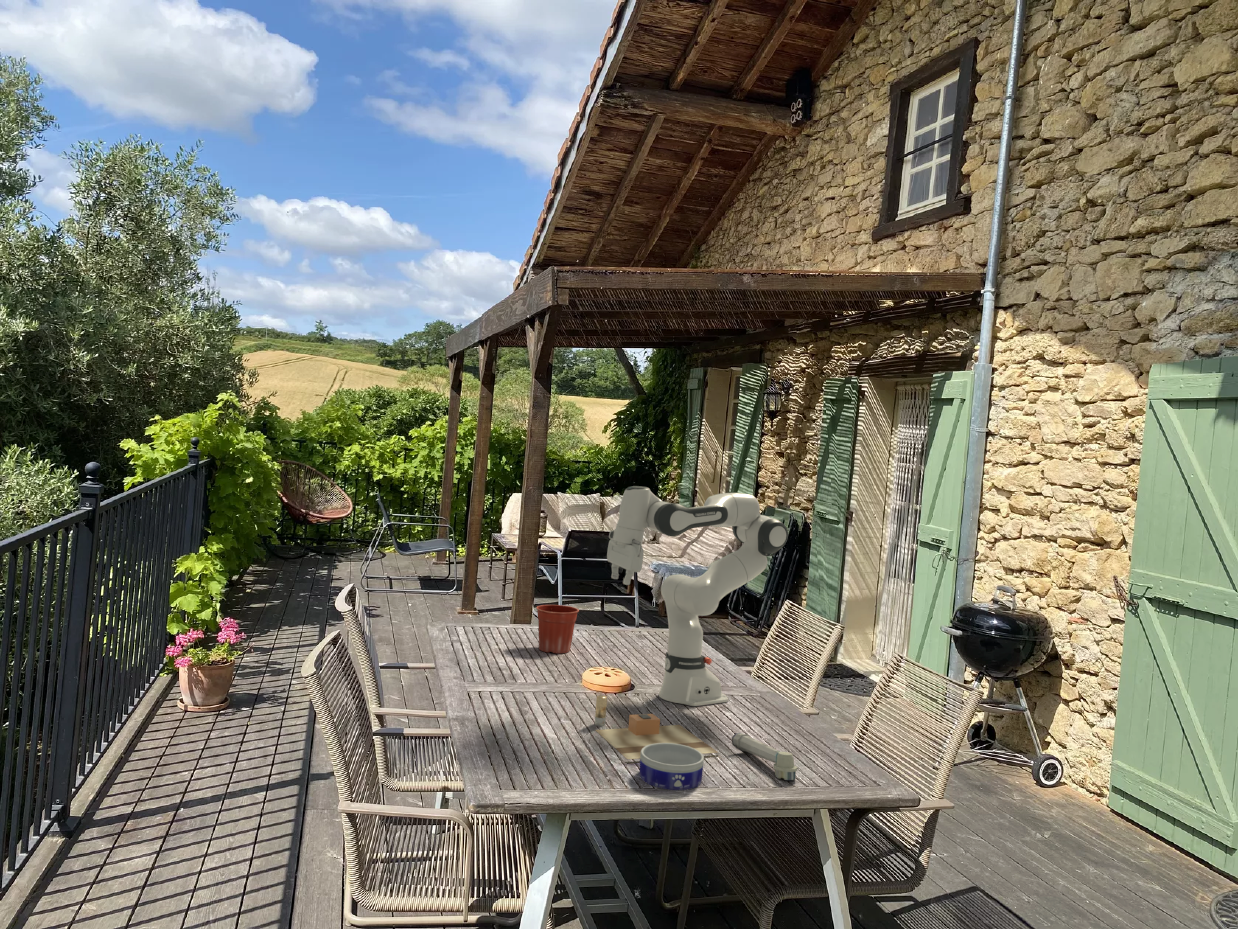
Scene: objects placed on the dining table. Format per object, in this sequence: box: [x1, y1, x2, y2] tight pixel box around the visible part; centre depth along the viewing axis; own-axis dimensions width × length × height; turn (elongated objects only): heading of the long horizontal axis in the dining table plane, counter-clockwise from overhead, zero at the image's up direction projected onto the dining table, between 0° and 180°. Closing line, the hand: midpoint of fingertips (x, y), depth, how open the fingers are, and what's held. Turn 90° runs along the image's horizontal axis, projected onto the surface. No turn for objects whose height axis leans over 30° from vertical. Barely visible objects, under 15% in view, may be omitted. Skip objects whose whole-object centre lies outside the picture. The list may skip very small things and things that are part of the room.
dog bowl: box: [639, 743, 705, 791], centre depth 201 cm, size 15×15×6 cm
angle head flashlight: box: [731, 732, 798, 781], centre depth 216 cm, size 5×7×25 cm
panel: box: [595, 724, 719, 765], centre depth 223 cm, size 26×22×1 cm
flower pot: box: [535, 604, 580, 654], centre depth 321 cm, size 16×16×16 cm
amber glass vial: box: [594, 694, 608, 728], centre depth 233 cm, size 3×3×9 cm
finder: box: [627, 713, 661, 735], centre depth 230 cm, size 7×5×4 cm
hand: (620, 581), depth 257 cm, fingers open, 8 cm apart
